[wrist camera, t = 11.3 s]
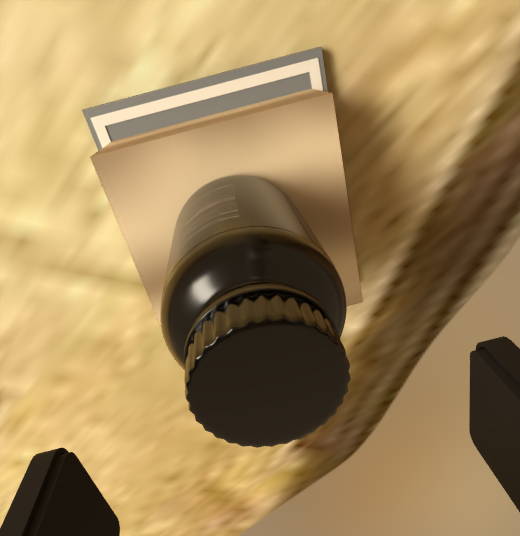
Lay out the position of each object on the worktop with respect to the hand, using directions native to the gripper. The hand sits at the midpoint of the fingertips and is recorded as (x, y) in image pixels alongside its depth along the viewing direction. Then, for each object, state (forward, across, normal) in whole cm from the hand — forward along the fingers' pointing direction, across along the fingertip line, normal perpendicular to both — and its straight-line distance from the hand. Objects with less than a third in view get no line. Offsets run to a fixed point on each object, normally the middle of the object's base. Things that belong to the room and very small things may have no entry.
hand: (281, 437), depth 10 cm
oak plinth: (+19, 0, +1) cm, 19 cm away
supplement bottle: (+14, 0, +1) cm, 14 cm away
